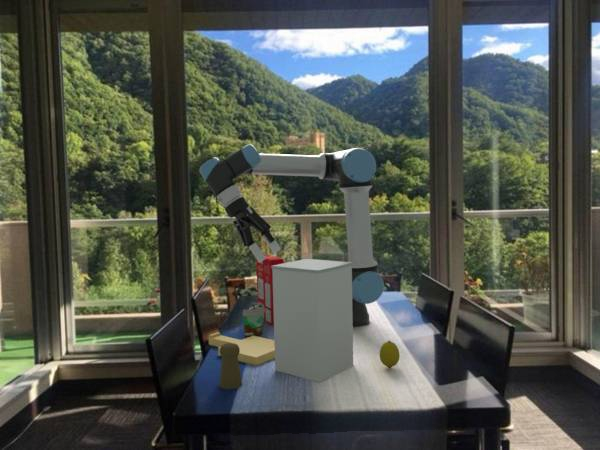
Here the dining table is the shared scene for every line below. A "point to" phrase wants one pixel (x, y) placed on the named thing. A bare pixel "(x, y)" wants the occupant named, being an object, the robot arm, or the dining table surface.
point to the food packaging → (266, 286)
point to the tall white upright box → (313, 318)
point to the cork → (230, 367)
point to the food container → (253, 320)
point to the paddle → (247, 347)
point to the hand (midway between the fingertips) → (270, 256)
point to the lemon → (389, 354)
